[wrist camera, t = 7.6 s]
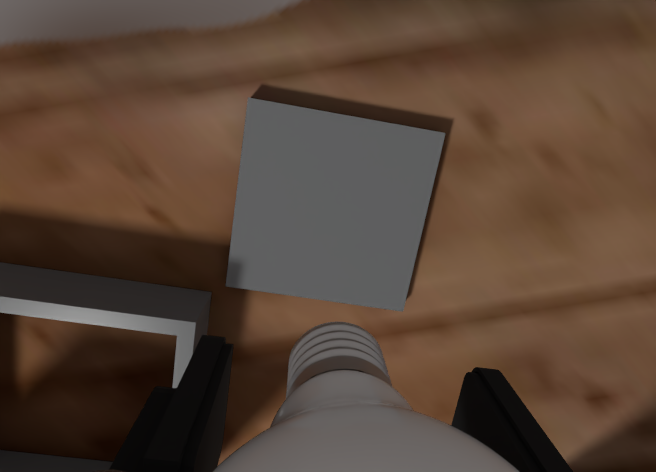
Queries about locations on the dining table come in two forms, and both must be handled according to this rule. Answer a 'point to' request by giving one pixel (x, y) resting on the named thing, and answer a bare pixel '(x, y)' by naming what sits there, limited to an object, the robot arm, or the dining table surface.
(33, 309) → the case
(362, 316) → the dining table surface
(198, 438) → the robot arm
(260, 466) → the lightbulb
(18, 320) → the dining table surface
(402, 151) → the mat
